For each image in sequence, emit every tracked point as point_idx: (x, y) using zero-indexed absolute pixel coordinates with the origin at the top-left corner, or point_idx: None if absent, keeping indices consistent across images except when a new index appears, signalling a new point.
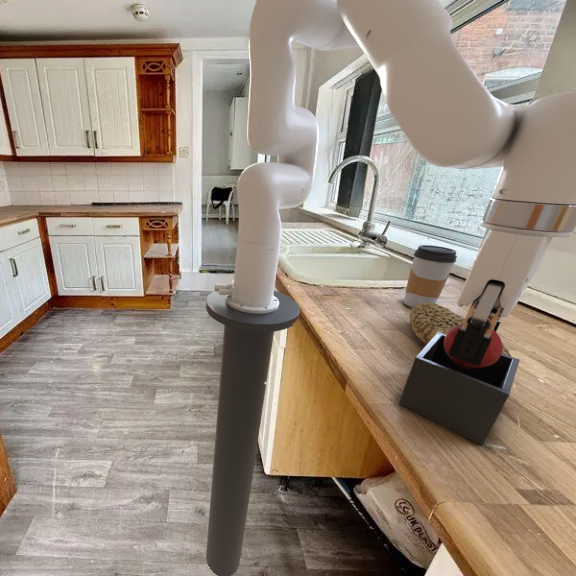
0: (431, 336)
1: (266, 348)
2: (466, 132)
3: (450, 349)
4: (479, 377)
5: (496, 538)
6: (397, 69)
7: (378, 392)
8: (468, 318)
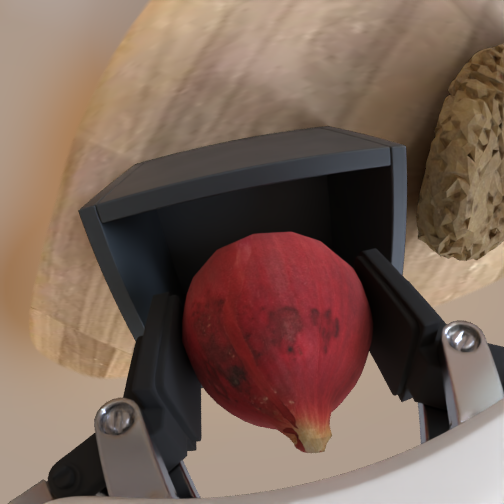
0: (460, 103)
1: None
2: None
3: (150, 306)
4: (349, 253)
5: (55, 346)
6: None
7: (127, 115)
8: (56, 484)
